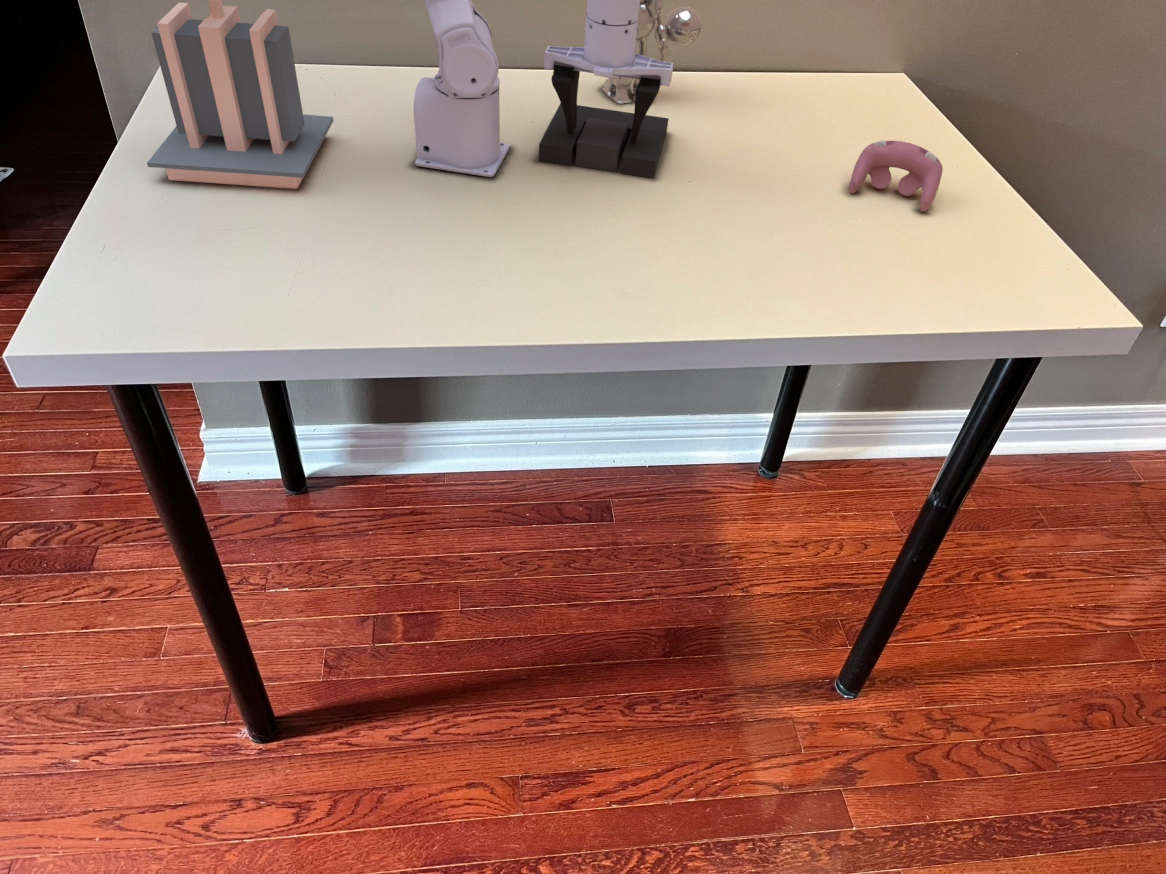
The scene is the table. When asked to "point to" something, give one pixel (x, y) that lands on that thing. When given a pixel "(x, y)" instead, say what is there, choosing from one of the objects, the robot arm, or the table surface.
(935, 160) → the video game controller
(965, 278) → the table surface
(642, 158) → the notched dark slab
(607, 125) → the pad
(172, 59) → the striped block on base
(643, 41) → the robot toy
